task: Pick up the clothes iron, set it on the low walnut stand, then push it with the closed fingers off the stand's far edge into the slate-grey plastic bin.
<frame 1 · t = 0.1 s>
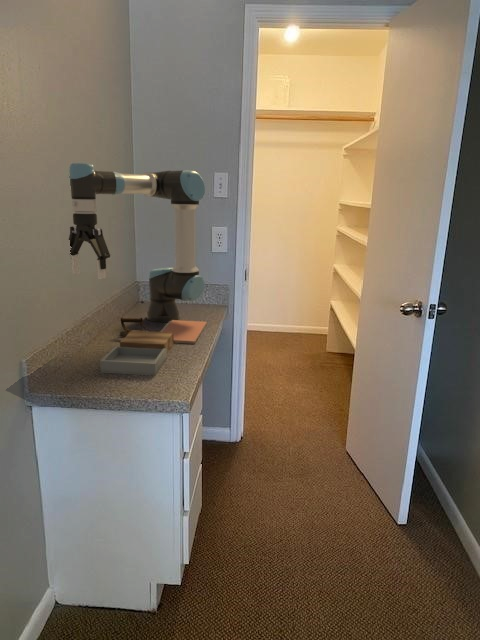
hand: (89, 276, 154), 28 cm above the counter, tool pointing down, fingers open, 13 cm apart
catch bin: (135, 365, 152), on the counter
walnut stand: (148, 349, 166), on the counter
clothes iron: (132, 336, 182), on the counter
notebook: (181, 334, 188), on the counter
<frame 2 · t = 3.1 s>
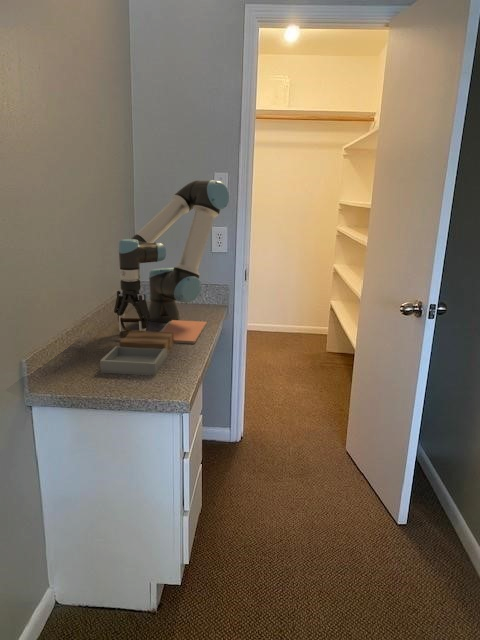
hand: (132, 333, 182), 1 cm above the counter, tool pointing down, fingers open, 11 cm apart
clothes iron: (132, 336, 182), on the counter, touching gripper
everything else where it was.
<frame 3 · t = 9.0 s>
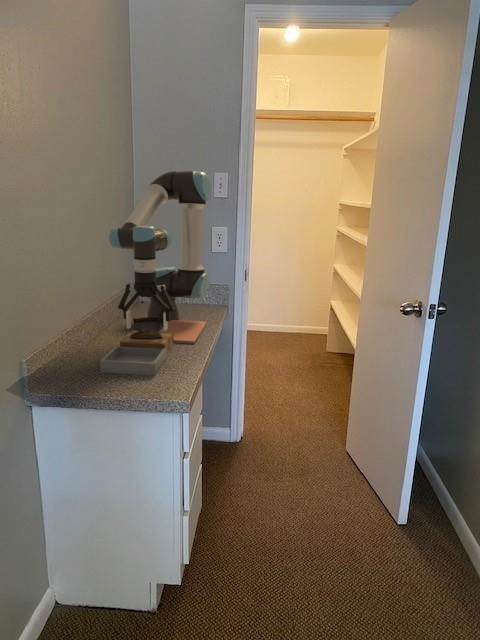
hand: (147, 328, 164), 8 cm above the counter, tool pointing down, fingers open, 13 cm apart
clothes iron: (145, 337, 165), point 5 cm above the counter, touching walnut stand
everything else where it was.
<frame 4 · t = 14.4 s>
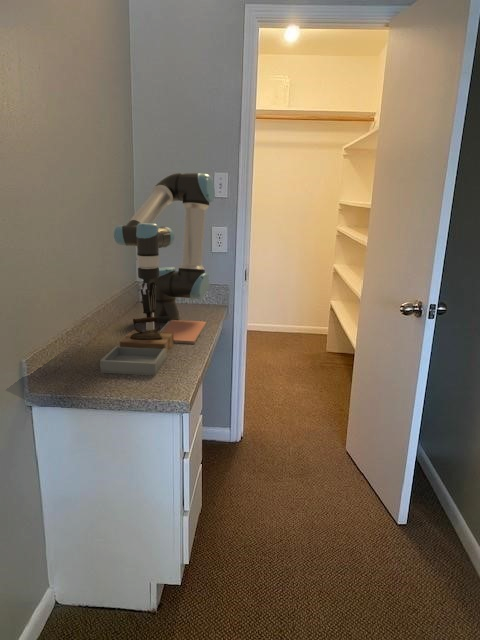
hand: (150, 329, 168), 7 cm above the counter, tool pointing down, fingers closed
clothes iron: (145, 338, 164), point 5 cm above the counter, touching gripper
everything else where it was.
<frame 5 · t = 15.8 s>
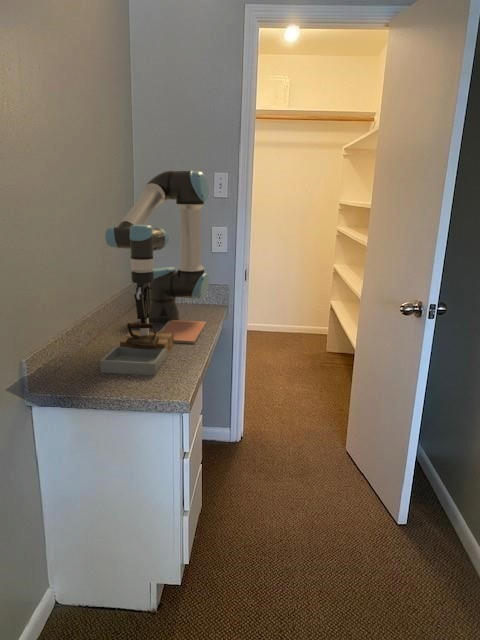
hand: (144, 335, 161), 7 cm above the counter, tool pointing down, fingers closed
clothes iron: (141, 343, 159), point 5 cm above the counter, touching walnut stand
everything else where it was.
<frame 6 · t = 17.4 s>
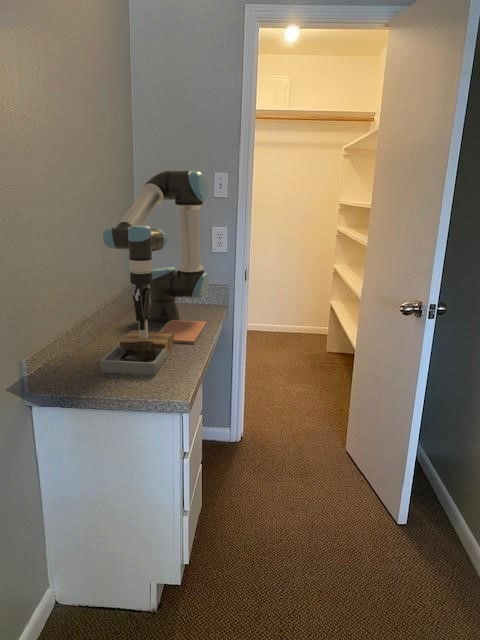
hand: (143, 337, 160), 6 cm above the counter, tool pointing down, fingers closed
clothes iron: (139, 348, 155), point 4 cm above the counter, touching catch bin
everything else where it was.
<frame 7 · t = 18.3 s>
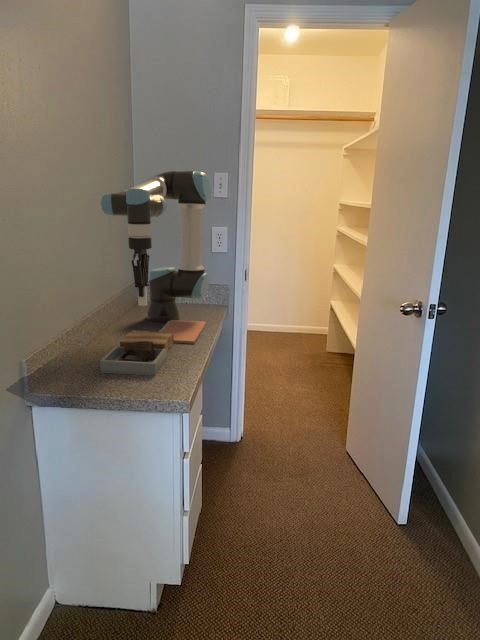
hand: (142, 305, 157), 18 cm above the counter, tool pointing down, fingers closed
nothing on the counter moved.
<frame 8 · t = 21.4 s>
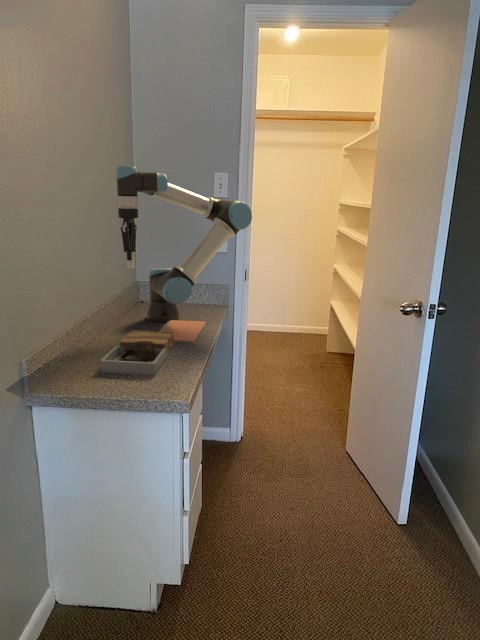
hand: (130, 268, 181), 26 cm above the counter, tool pointing down, fingers closed
nothing on the counter moved.
at the end: clothes iron 4.5 cm from the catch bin (horizontally); clothes iron touching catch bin; the gripper is holding nothing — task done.
